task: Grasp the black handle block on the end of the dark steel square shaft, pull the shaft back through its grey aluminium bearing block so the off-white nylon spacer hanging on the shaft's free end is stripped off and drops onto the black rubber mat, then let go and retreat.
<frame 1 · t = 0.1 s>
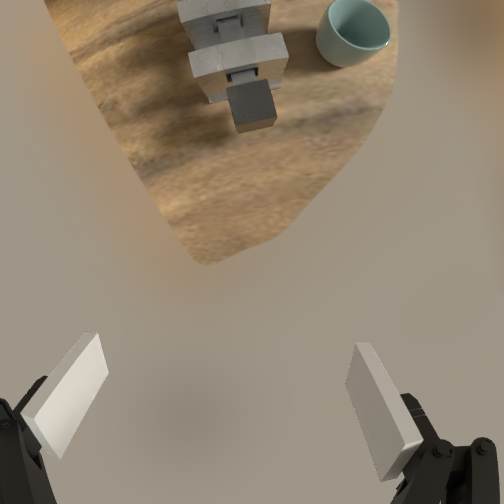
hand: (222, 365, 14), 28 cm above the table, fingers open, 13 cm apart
shaft: (233, 40, 26), point 8 cm above the table, slide at 0.0 cm, touching spacer
bearing block: (235, 59, 34), on the table
cup: (337, 50, 33), on the table
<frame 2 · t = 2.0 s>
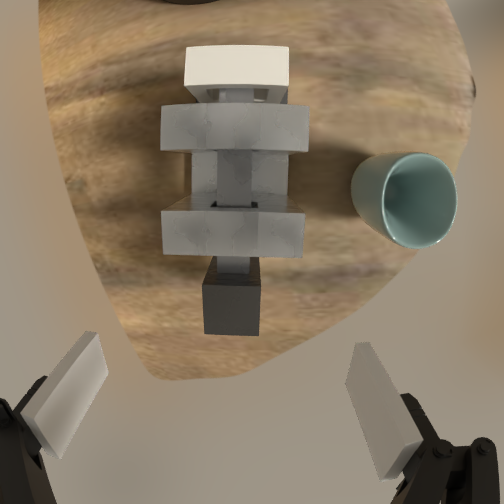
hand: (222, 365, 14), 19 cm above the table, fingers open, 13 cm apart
shaft: (235, 184, 22), point 8 cm above the table, slide at 0.0 cm, touching spacer
spacer: (238, 77, 20), point 7 cm above the table, touching shaft
bearing block: (239, 173, 29), on the table
cup: (374, 187, 30), on the table
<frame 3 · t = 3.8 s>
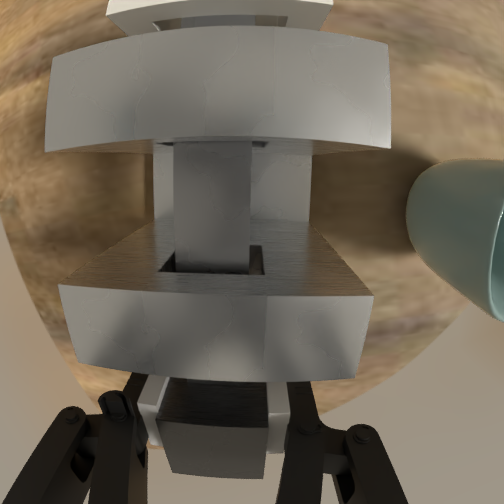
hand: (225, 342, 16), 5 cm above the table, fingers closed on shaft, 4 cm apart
shaft: (215, 216, 10), point 8 cm above the table, slide at 0.0 cm, touching gripper, spacer
spacer: (225, 10, 9), point 7 cm above the table, touching shaft
bearing block: (231, 185, 18), on the table
cup: (433, 209, 18), on the table
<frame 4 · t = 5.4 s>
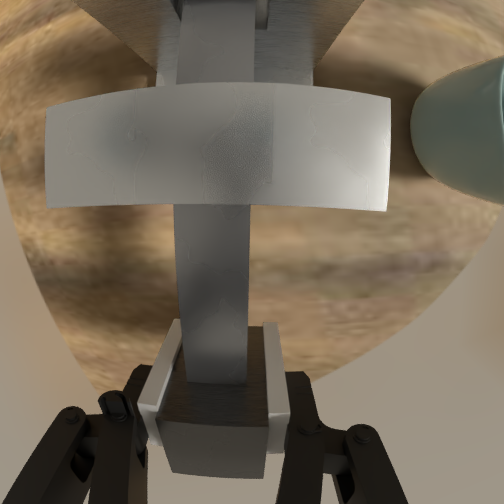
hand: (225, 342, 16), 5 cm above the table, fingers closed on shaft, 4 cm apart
shaft: (215, 214, 10), point 8 cm above the table, slide at 5.3 cm, touching gripper
bearing block: (233, 100, 16), on the table
cup: (437, 136, 17), on the table
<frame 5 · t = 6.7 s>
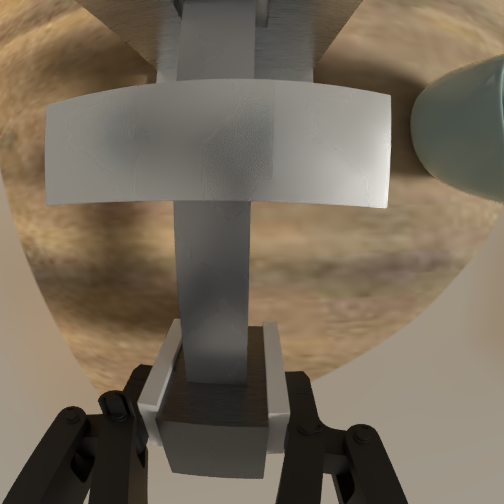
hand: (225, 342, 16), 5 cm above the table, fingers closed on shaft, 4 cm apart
shaft: (215, 214, 10), point 8 cm above the table, slide at 5.4 cm, touching gripper
bearing block: (233, 98, 16), on the table
cup: (437, 135, 17), on the table
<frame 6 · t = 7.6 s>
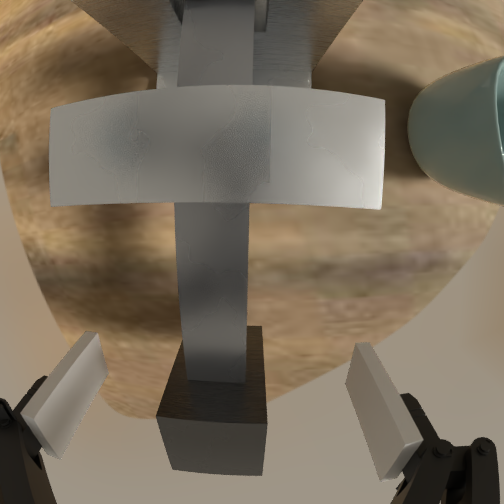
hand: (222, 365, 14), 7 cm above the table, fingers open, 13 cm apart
shaft: (215, 216, 11), point 8 cm above the table, slide at 5.4 cm
bearing block: (232, 101, 17), on the table
cup: (434, 136, 17), on the table
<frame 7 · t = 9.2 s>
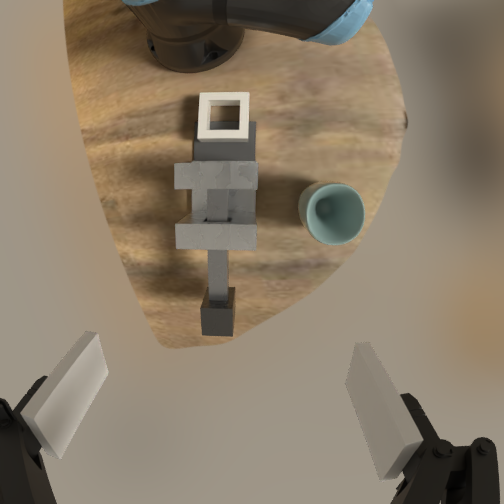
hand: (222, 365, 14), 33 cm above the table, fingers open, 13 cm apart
shaft: (218, 249, 38), point 8 cm above the table, slide at 5.4 cm
mat: (224, 141, 42), on the table
spacer: (224, 117, 39), point 2 cm above the table, tilted 95°, touching mat
bearing block: (223, 197, 44), on the table
cup: (318, 204, 45), on the table
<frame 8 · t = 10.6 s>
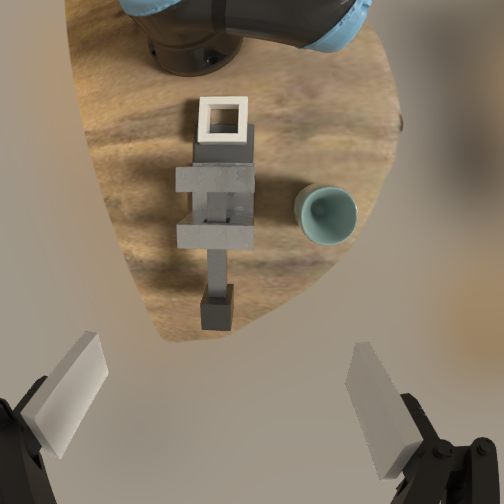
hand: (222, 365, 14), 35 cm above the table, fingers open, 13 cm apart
shaft: (217, 249, 40), point 8 cm above the table, slide at 5.4 cm
mat: (224, 143, 43), on the table
spacer: (223, 120, 41), point 2 cm above the table, tilted 95°, touching mat
bearing block: (223, 197, 46), on the table
cup: (314, 205, 46), on the table
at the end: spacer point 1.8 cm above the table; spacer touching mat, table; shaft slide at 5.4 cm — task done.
